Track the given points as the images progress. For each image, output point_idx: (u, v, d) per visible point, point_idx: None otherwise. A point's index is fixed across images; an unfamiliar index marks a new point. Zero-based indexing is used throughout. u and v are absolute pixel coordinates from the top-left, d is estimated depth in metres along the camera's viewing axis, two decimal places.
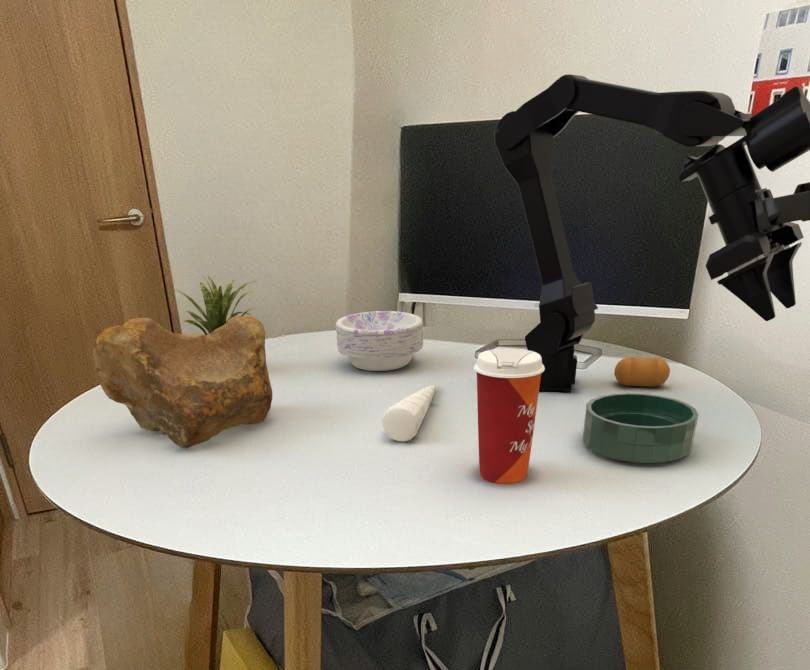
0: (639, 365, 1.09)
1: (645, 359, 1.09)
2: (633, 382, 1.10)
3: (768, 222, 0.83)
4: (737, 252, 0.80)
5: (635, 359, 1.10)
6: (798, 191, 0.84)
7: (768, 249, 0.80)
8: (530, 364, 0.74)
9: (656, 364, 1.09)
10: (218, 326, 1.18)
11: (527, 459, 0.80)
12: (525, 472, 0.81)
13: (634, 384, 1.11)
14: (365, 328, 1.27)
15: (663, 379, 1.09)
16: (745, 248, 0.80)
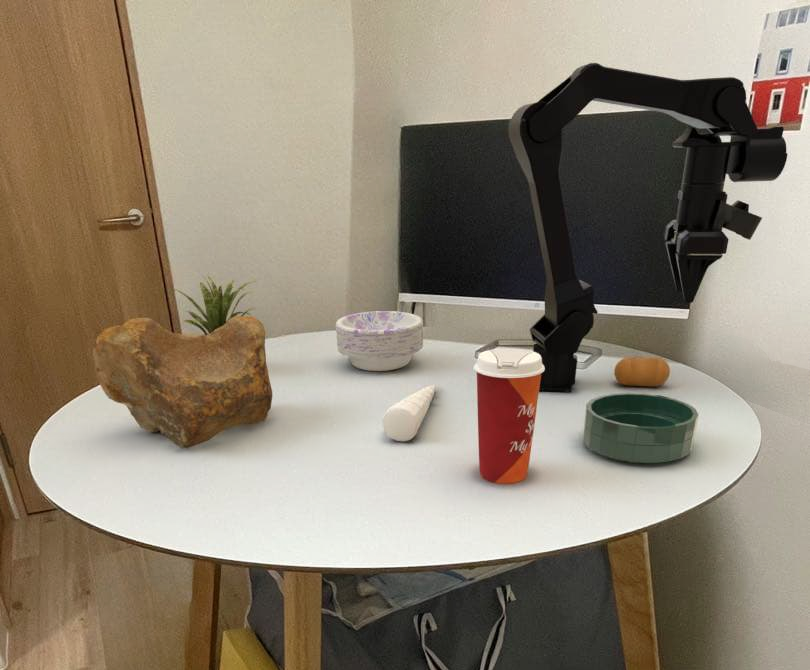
0: (639, 365, 1.09)
1: (645, 359, 1.09)
2: (633, 382, 1.10)
3: (722, 224, 1.00)
4: (711, 243, 0.96)
5: (635, 359, 1.10)
6: (737, 206, 1.03)
7: None
8: (530, 364, 0.74)
9: (656, 364, 1.09)
10: (218, 326, 1.18)
11: (527, 459, 0.80)
12: (525, 472, 0.81)
13: (634, 384, 1.11)
14: (365, 328, 1.27)
15: (663, 379, 1.09)
16: (718, 242, 0.95)
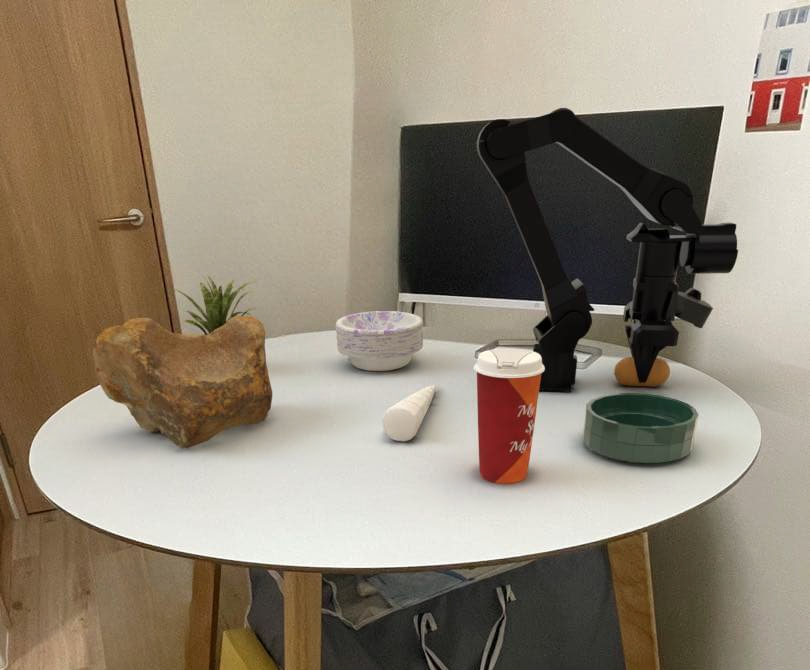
0: None
1: None
2: (633, 382, 1.10)
3: (674, 314, 1.03)
4: (662, 336, 0.99)
5: None
6: (690, 294, 1.06)
7: None
8: (530, 364, 0.74)
9: (656, 364, 1.09)
10: (218, 326, 1.18)
11: (527, 459, 0.80)
12: (525, 472, 0.81)
13: (634, 384, 1.11)
14: (365, 328, 1.27)
15: (663, 379, 1.09)
16: (668, 336, 0.99)
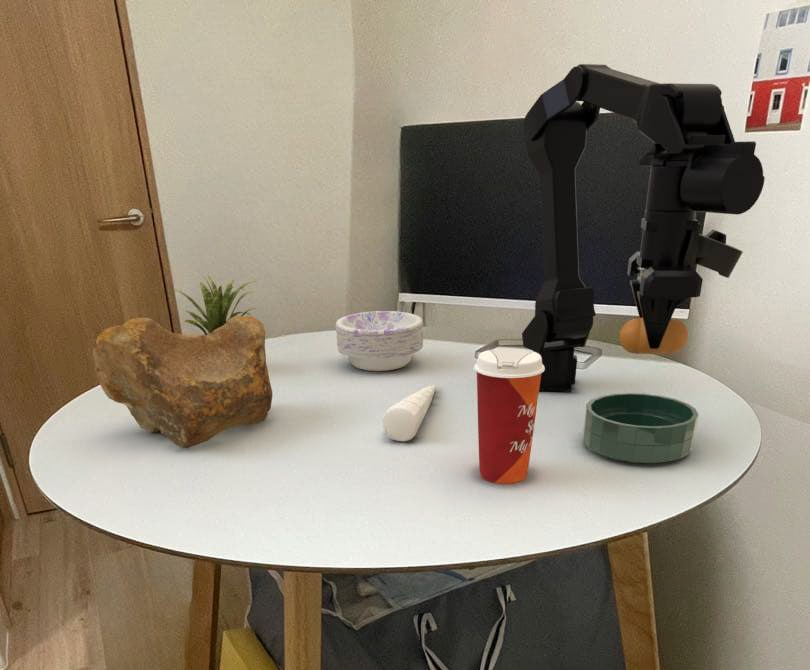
0: None
1: None
2: (643, 348, 0.89)
3: (695, 259, 0.82)
4: (681, 284, 0.78)
5: None
6: (713, 237, 0.85)
7: None
8: (530, 364, 0.74)
9: (672, 325, 0.87)
10: (218, 326, 1.18)
11: (527, 459, 0.80)
12: (525, 472, 0.81)
13: (644, 351, 0.89)
14: (365, 328, 1.27)
15: (680, 344, 0.88)
16: (690, 284, 0.78)
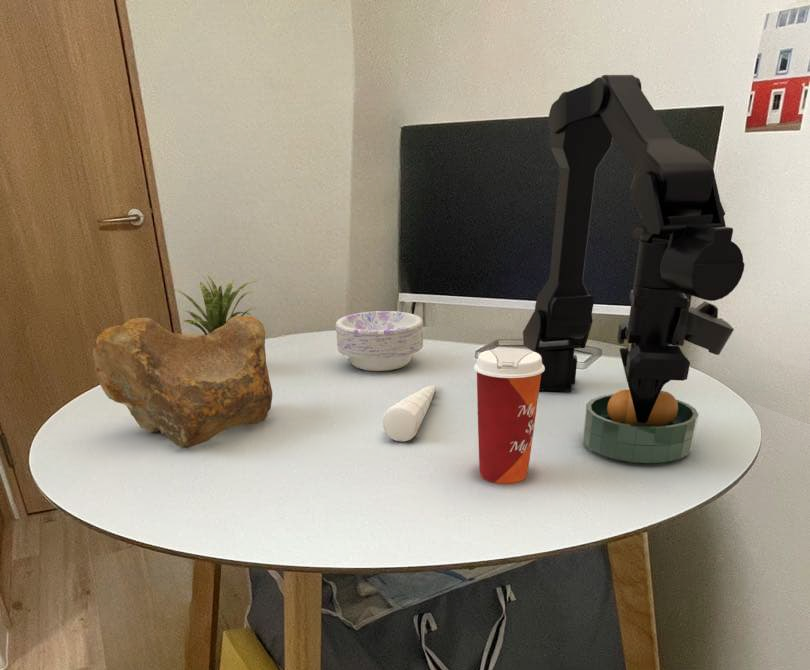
0: None
1: None
2: (631, 422, 0.86)
3: (684, 336, 0.79)
4: (668, 367, 0.75)
5: None
6: (704, 310, 0.83)
7: None
8: (531, 364, 0.74)
9: (661, 399, 0.85)
10: (218, 326, 1.18)
11: (527, 459, 0.80)
12: (525, 472, 0.81)
13: (632, 424, 0.87)
14: (365, 328, 1.27)
15: (669, 418, 0.85)
16: (676, 367, 0.75)
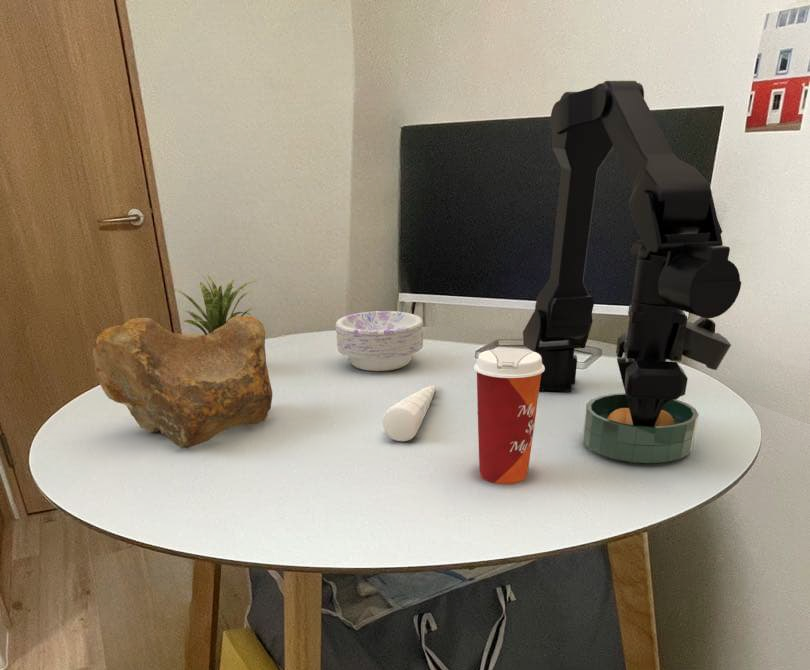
0: None
1: None
2: None
3: (681, 352, 0.80)
4: (666, 383, 0.76)
5: None
6: (701, 325, 0.83)
7: None
8: (531, 364, 0.74)
9: (658, 419, 0.86)
10: (218, 326, 1.18)
11: (527, 459, 0.80)
12: (525, 472, 0.81)
13: None
14: (365, 328, 1.27)
15: None
16: (674, 383, 0.76)
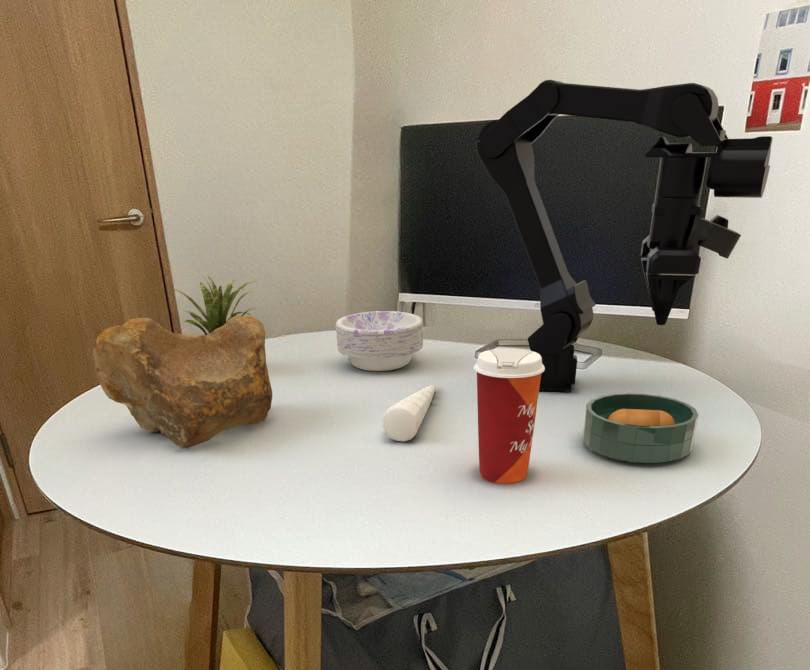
0: None
1: (644, 415, 0.86)
2: None
3: (697, 241, 0.92)
4: (682, 262, 0.88)
5: (632, 415, 0.86)
6: (716, 222, 0.95)
7: None
8: (530, 364, 0.74)
9: (658, 423, 0.85)
10: (218, 326, 1.18)
11: (527, 459, 0.80)
12: (525, 472, 0.81)
13: None
14: (365, 328, 1.27)
15: None
16: (689, 262, 0.88)
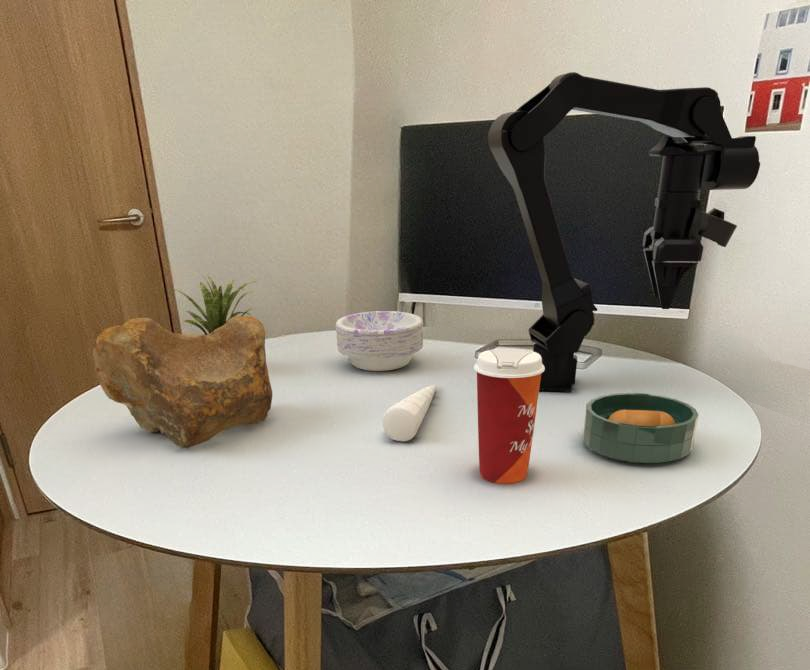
0: None
1: (645, 418, 0.85)
2: None
3: (698, 231, 1.01)
4: (686, 250, 0.97)
5: (632, 418, 0.86)
6: (713, 214, 1.04)
7: None
8: (530, 364, 0.74)
9: None
10: (218, 326, 1.18)
11: (527, 459, 0.80)
12: (525, 472, 0.81)
13: None
14: (365, 328, 1.27)
15: None
16: (693, 250, 0.97)
